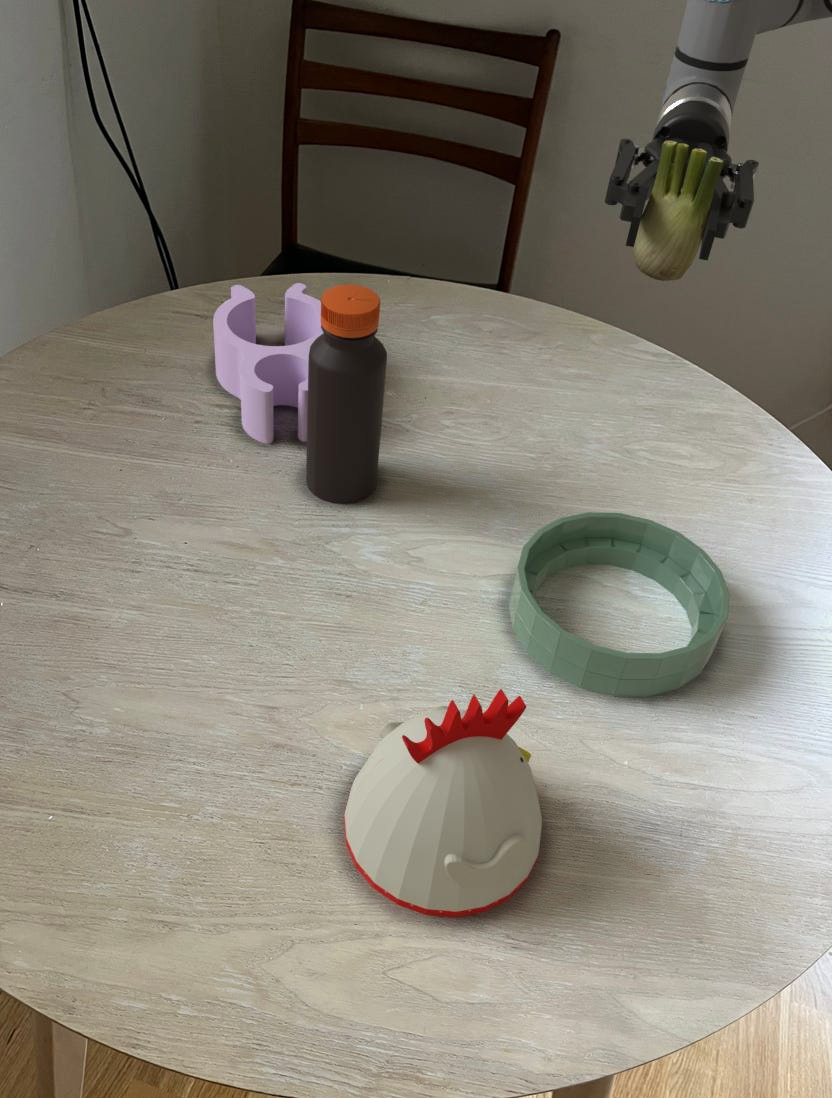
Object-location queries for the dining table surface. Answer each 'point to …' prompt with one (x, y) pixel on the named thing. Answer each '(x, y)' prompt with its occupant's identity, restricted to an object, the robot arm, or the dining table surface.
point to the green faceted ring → (627, 548)
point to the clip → (266, 359)
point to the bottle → (345, 397)
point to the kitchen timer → (446, 810)
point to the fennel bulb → (675, 212)
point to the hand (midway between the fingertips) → (670, 238)
